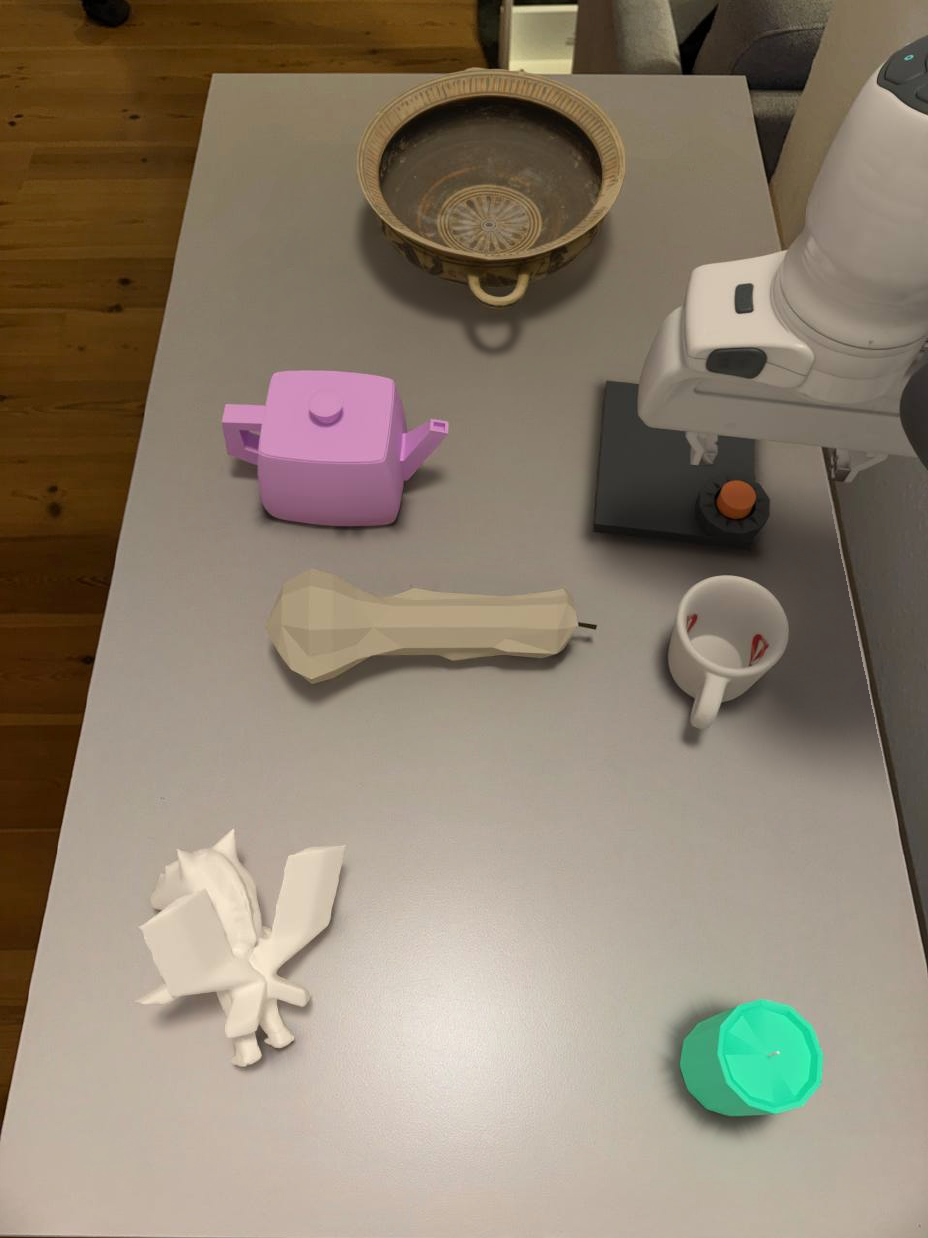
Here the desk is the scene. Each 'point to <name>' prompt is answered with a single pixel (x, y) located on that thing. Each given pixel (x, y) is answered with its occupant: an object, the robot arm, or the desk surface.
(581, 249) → the ceramic bowl
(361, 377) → the teapot
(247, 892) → the figurine
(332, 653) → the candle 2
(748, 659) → the cup
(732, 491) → the button
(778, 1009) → the candle
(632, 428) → the scale
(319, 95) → the desk surface
